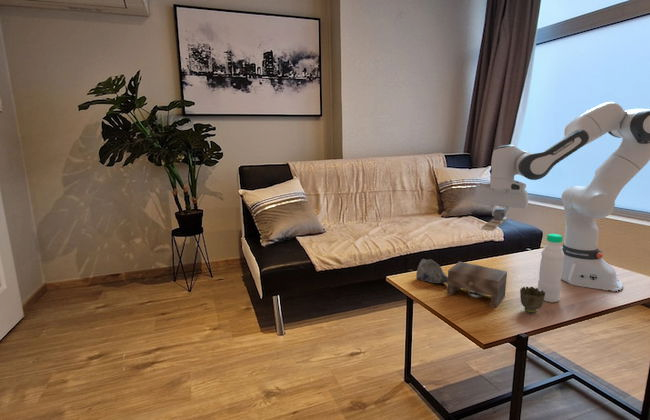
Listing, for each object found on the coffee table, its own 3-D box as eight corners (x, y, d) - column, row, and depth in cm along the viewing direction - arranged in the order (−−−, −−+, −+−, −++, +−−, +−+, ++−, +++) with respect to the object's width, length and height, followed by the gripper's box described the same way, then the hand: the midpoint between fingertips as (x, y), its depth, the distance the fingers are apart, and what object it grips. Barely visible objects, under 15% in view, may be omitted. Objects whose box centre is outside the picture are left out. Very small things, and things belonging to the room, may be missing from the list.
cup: (513, 309, 123) (515, 288, 121) (528, 305, 125) (530, 284, 124) (531, 319, 116) (534, 297, 114) (547, 314, 118) (550, 293, 117)
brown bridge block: (504, 295, 133) (507, 271, 131) (495, 308, 123) (497, 282, 121) (458, 284, 144) (459, 261, 142) (446, 294, 135) (447, 270, 133)
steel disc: (484, 295, 135) (484, 291, 134) (480, 299, 131) (480, 296, 130) (471, 291, 138) (471, 288, 137) (466, 296, 134) (467, 292, 134)
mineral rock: (452, 287, 142) (453, 264, 140) (428, 290, 140) (429, 266, 137) (435, 275, 154) (436, 254, 152) (413, 278, 152) (414, 256, 150)
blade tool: (496, 218, 152) (497, 207, 151) (506, 219, 149) (507, 208, 148) (481, 229, 136) (482, 217, 135) (492, 230, 133) (493, 218, 132)
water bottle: (533, 298, 131) (540, 234, 125) (541, 292, 135) (548, 231, 129) (554, 305, 125) (562, 238, 120) (561, 299, 129) (570, 235, 124)
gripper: (473, 183, 149) (471, 214, 151) (527, 186, 136) (524, 220, 139) (477, 181, 153) (476, 212, 156) (530, 184, 140) (527, 217, 143)
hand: (499, 216), depth 147 cm, fingers closed on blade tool, 2 cm apart
